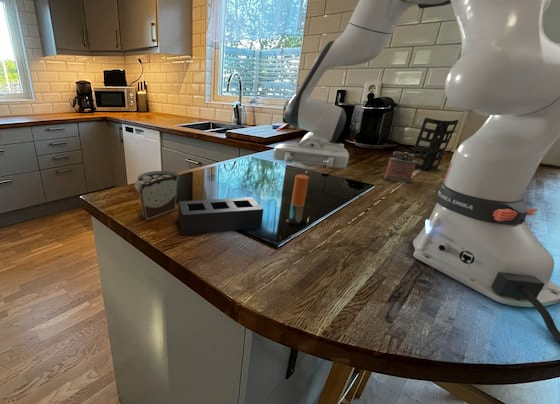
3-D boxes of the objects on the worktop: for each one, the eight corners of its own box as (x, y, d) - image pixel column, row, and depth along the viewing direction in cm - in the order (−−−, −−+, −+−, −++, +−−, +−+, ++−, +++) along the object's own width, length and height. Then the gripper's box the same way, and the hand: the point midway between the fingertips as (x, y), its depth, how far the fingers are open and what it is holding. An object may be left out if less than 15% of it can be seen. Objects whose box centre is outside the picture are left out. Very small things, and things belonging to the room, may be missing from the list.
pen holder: (261, 228, 71) (263, 209, 69) (182, 234, 67) (182, 214, 65) (250, 214, 77) (252, 197, 75) (178, 219, 74) (178, 201, 72)
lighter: (410, 180, 106) (419, 153, 102) (410, 183, 103) (419, 155, 99) (384, 176, 110) (391, 149, 106) (383, 179, 107) (391, 151, 103)
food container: (165, 201, 84) (164, 167, 80) (179, 207, 80) (179, 172, 76) (127, 213, 76) (124, 176, 72) (141, 221, 72) (139, 183, 68)
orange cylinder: (303, 224, 73) (311, 178, 68) (291, 225, 72) (299, 178, 68) (297, 219, 76) (304, 174, 71) (286, 219, 75) (293, 174, 70)
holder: (432, 165, 124) (451, 116, 114) (443, 172, 118) (464, 121, 108) (404, 164, 125) (421, 116, 115) (413, 171, 119) (432, 121, 109)
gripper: (278, 137, 94) (269, 146, 82) (349, 144, 86) (351, 155, 75) (276, 156, 96) (267, 168, 84) (345, 165, 89) (345, 179, 77)
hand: (307, 162), depth 79 cm, fingers open, 8 cm apart
